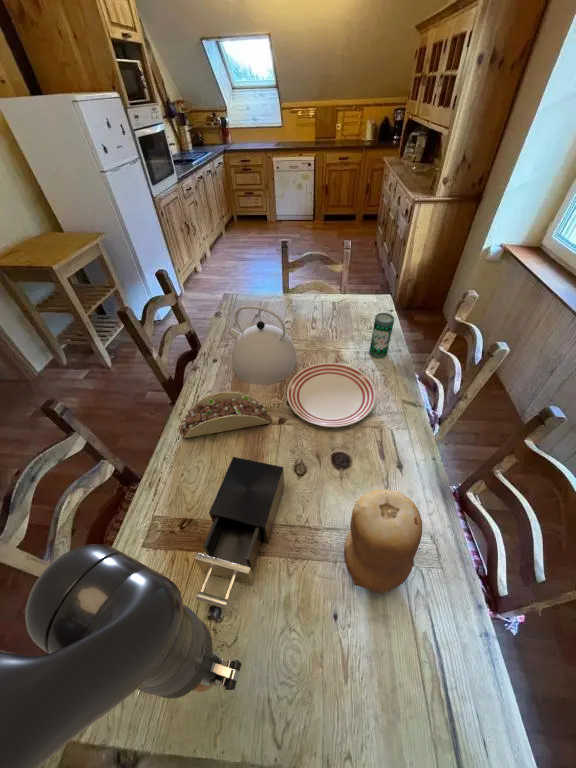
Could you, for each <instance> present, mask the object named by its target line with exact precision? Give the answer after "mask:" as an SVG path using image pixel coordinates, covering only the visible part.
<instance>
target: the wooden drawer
mask: <svg viewBox="0 0 576 768" xmlns="http://www.w3.org/2000/svg"><path fill="white" fill-rule="evenodd" d="M262 540H263V531H262V528H261V527H257V526H253V525H249V524H245V523H241V522H237V521H233V520H229V519H225V518H220V517H215V519H214V522H213V521H212V524H211V527H210V529H209V531H208V534H207V536H206V539H205V541H204V543H203V546H202V548H203V550H204V552H205V554H202V553H199V552H196V553H195V556H194V558H193V560H194V561H195V563H196V565H197V566H198V568H199V569H200V570H201V572H203V573H206V576H205V578H204V581H203V584H202V586H201V589H200V591H198V592H197V595H196V598H195V599H196V601H199V602H201V603H205V604H208V605H212V606H215V607H219V608H222V609H224V610H226V609H228V607H229V604H230V601H229V599H230V596H231V593H232V590H233V588H234V584H235V582H239V583H242V584H246V585H250V586H253V585H254V582H255V577H254V575H253V572H254V569H255V566H256V563H257V560H258V556H259V554H260V553H259V552H260V549H261V547H262ZM212 575H214V576H217V577H222V578H225V579H229V580H230V582H229V584H228V588H227V591H226V594H225V596H224V598H222V597H219V596H216V595H213V594H209V593H206V592H205V591H206V589H207V587H208V586H207V585H208V584H209V581H210V578H211V576H212Z"/></svg>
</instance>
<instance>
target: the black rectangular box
mask: <svg viewBox="0 0 576 768" xmlns="http://www.w3.org/2000/svg"><path fill="white" fill-rule="evenodd" d="M284 471H285V470H284V466H280V465H275V464H271V463H265V462H260V461H256V460H252V459H246V458H242V457H236V456H233V457H232V459H231V460H230V464H229V466H228V468H227V471H226V473H225V475H224V476H223V479H222V482H221V484H220V486H219V489H218V491H217V493H216V496H215V498H214V500H213V503H212V504H211V508H210V510H209V512H208V514H209V516H210V519H211V522H212V523H213V522H214V519H215V517H220V518H225V519H229V520H233V521H237V522H241V523H245V524H249V525H253V526H257V527H261V528H262V531H263V540H262V543H263V544H266V545H269V543H270V539H271V536H272V532H273V529H274V525H275V523H276V519H277V514H278V511H279V507H280V504H281V501H282V497H283V494H284V491H285V488H286V487H285V473H284ZM262 543H261V544H262Z"/></svg>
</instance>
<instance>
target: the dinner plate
mask: <svg viewBox="0 0 576 768" xmlns="http://www.w3.org/2000/svg"><path fill="white" fill-rule="evenodd" d="M286 399H287V402H288V405H289V407H290V408H291V410H292V411H293V412H294V414H295V415H296V416H298V417H299V418H300V419H302V420H303V421H306V422H308V423H310V424H312V425H316V426H319V427H323V428H324V427H325V428H341V427H342V428H343V427H347V426H350V425H353V424H356V423H358V422H360V421H362V420H363V419H365V418H366V417H367V416H368V415H369V414H370V413H371V412H372V411H373V409H374V407H375V404H376V401H377V391H376V388H375V385H374V384H373V382H372V381H371V379H370V377H368V376H367V375H366V374H365V373H364V372H362V371H361V370H359V369H357V368H356V367H352V366H351V365H347V364H343V363H338V362H337V363H336V362H322V363H317V364H313V365H310V366H307V367H305V368H304V369H303V368H302V370H300V371H299V372H297V373H296V374H295V375H294V376H293V377H292V378H291V380H290V381H289V383H288V386H287V389H286Z"/></svg>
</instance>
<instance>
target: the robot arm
mask: <svg viewBox="0 0 576 768" xmlns="http://www.w3.org/2000/svg"><path fill="white" fill-rule="evenodd" d="M24 614H25V616H24V617H25V625H26V630H27V633H28V635H29V637H30V638H31V640H32V641H33V643H35V645H36V646H38V647H39V648H40V649H41V650H43V651H44V652H45V653H47V654H44V655H43V654H42V655H25V654H20V653H17V652H13V651H8V650H3V649H0V768H40V767H41V766H43V764H45V763H46V762H47V761H48V760H50V759H51V758H52V757H53V756H54V755H56V754H57V753H58V752H59V751H61V750H62V749H63V748H64V747H66V745H68V744H69V743H70V742H71V741H73V740H74V739H75V738H76V737H77V736H79V735H80V734H82V732H84V731H85V730H86V729H88V728H89V727H90V726H92V725H93V724H94V723H95V722H97V721H98V720H100V718H102V717H104V716H105V715H106V714H107V713H108V712H110V711H111V710H113V709H114V708H115V707H117V706H118V705H119V704H121V703H122V702H123V701H125V700H126V699H127V698H128V697H129V696H131V694H133V693H134V692H135V691H136V690H138V691H140V692H142V693H145V694H148V695H152V696H156V697H160V698H164V699H179V698H181V697H184V696H186V695H188V694H190V693H191V692H193V689H195V688H196V687H197V686H198V685H199V684H202V685H205V686H207V687H210V686H211V684H212V683H213V686H215V687H217V686H222V687H223V688H224V690H227V691H235V690H236V687H237V683H238V679H239V675H240V671H241V668H242V665H243V663H241V662H240V660H237V659H235V660H231V659H228V660H227V661H225V659H223V658H221V653H220V652H219V651H217V650H216V649H214V647H213V640H212V636H211V632H210V630H209V627H208V626H207V624H205V622H204V621H203V620H202V619H201V618H200V617H199V616H198V615H197V613H195V612H194V611H193V610H192V609H191V608H190V607H189V606H187V605H186V604H184V601H183V597H182V593H181V591H180V589H179V588H178V586H177V585H176V583H175V582H173V580H171V579H170V578H168V577H167V576H165V575H164V574H162V573H160V572H158V571H156V570H155V569H153V568H151V567H149V566H147V565H146V564H144V563H143V562H140V561H138V559H137V560H136V559H135V558H133V557H131V556H130V555H128V554H127V553H124V552H122V551H121V550H119V549H117V548H115V547H113V546H110V545H107V544H102V543H91V544H86V545H84V544H83V545H81V546H78V547H75V548H73V549H71V550H68V551H66V552H65V553H63V554H62V555H60V556H59V557H57V558H56V559H55V560H53V561H52V562H51V563H50V564H49V565H48V566H47V567H46V568H45V569H44V570H43V572H42V573H41V574H40V575H39V577H38V578H37V580H36V581H35V582H34V585H32V588H31V590H30V593H29V596H28V597H27V601H26V606H25V613H24ZM213 649H214V650H213Z"/></svg>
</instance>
